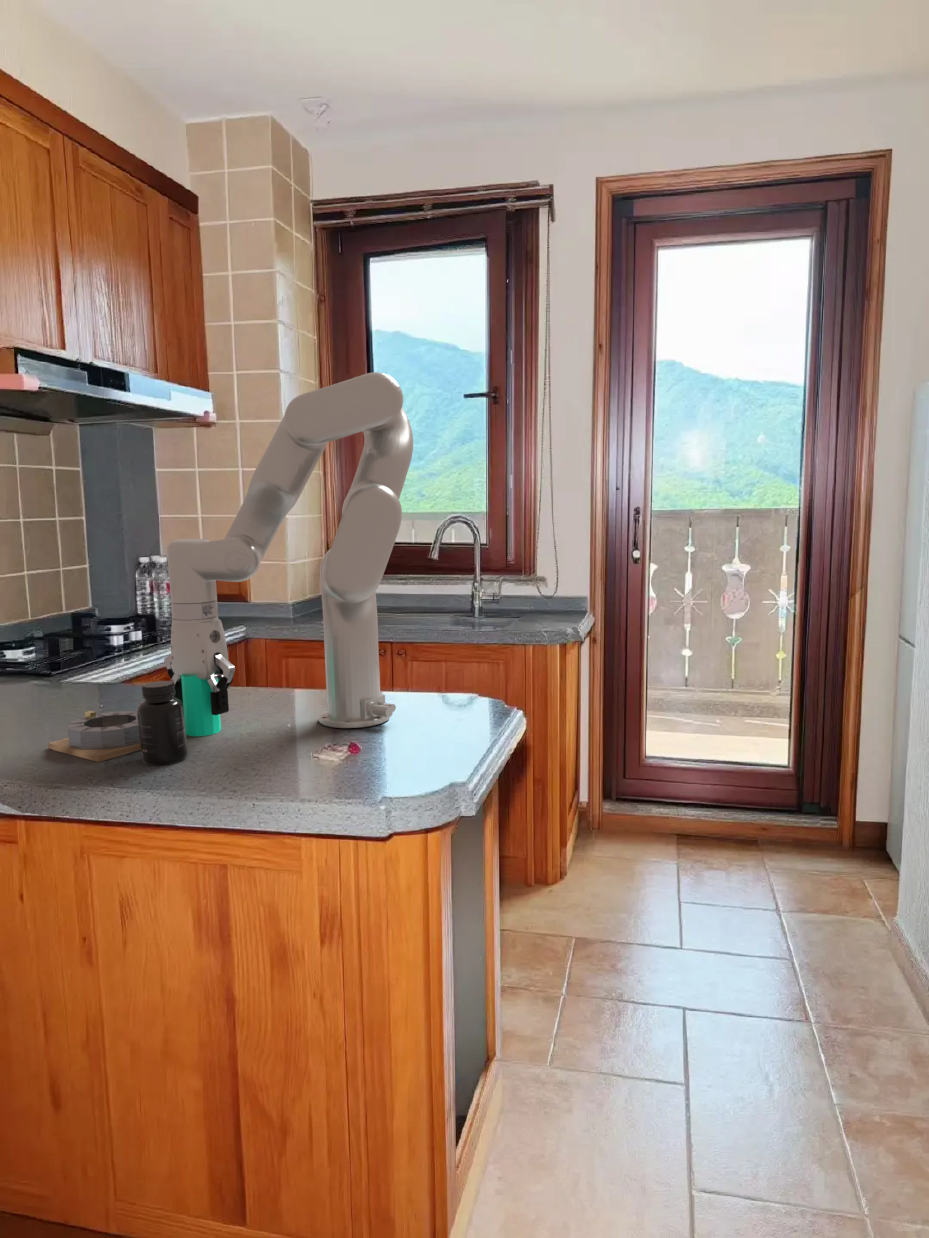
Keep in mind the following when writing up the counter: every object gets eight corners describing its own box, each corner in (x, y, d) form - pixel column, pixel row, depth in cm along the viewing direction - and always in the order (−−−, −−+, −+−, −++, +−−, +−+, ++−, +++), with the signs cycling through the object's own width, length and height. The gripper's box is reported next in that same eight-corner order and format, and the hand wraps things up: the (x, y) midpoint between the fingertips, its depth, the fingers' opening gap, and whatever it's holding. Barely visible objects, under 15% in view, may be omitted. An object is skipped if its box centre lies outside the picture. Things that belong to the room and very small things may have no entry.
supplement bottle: (171, 750, 141) (166, 677, 140) (196, 757, 137) (191, 682, 135) (132, 760, 136) (126, 685, 134) (156, 768, 132) (150, 690, 130)
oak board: (174, 739, 147) (173, 734, 147) (98, 761, 136) (98, 755, 136) (124, 728, 155) (123, 723, 155) (48, 748, 144) (48, 742, 144)
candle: (223, 733, 150) (218, 665, 149) (186, 738, 148) (181, 668, 146) (219, 725, 156) (214, 659, 154) (183, 729, 154) (179, 662, 152)
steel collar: (168, 734, 147) (167, 712, 146) (99, 754, 136) (97, 730, 136) (122, 724, 154) (121, 703, 154) (53, 742, 144) (51, 719, 143)
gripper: (246, 612, 147) (252, 711, 150) (180, 606, 157) (187, 699, 159) (210, 618, 141) (217, 721, 143) (144, 611, 151) (152, 708, 153)
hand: (201, 709), depth 151 cm, fingers open, 9 cm apart
